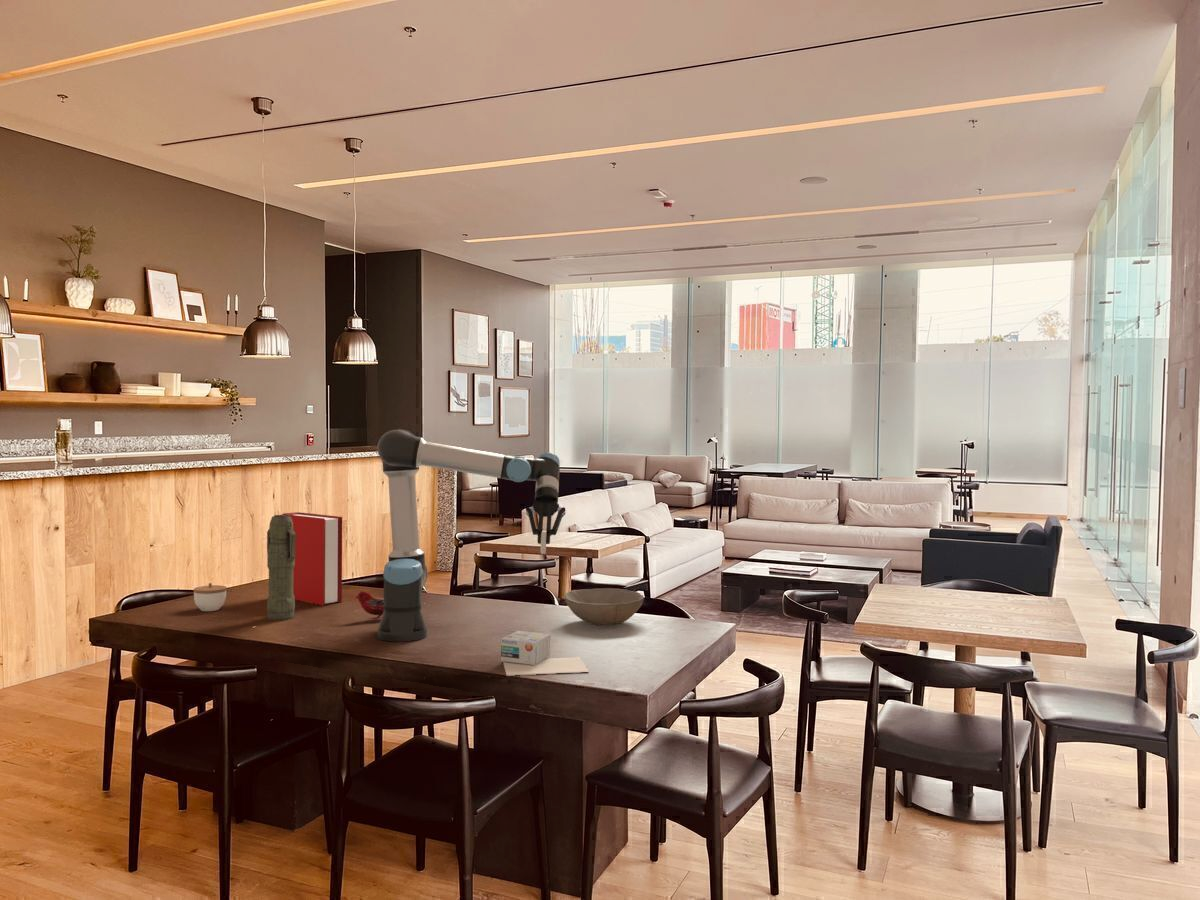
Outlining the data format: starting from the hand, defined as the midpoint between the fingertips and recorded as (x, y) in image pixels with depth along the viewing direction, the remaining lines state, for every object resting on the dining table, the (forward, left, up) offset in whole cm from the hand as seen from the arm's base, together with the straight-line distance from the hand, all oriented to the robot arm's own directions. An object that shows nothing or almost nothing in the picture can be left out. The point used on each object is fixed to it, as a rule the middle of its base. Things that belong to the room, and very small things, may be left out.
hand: (543, 551), depth 269 cm
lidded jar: (-111, +63, -28) cm, 131 cm away
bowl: (+24, +23, -28) cm, 44 cm away
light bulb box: (-4, -16, -24) cm, 30 cm away
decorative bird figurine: (-50, +39, -28) cm, 70 cm away
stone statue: (-84, +46, -28) cm, 100 cm away
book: (-79, +78, -28) cm, 115 cm away
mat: (-2, -28, -28) cm, 40 cm away
